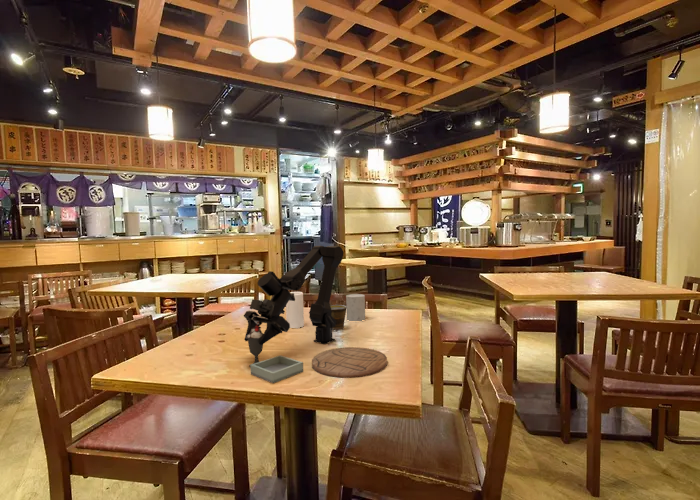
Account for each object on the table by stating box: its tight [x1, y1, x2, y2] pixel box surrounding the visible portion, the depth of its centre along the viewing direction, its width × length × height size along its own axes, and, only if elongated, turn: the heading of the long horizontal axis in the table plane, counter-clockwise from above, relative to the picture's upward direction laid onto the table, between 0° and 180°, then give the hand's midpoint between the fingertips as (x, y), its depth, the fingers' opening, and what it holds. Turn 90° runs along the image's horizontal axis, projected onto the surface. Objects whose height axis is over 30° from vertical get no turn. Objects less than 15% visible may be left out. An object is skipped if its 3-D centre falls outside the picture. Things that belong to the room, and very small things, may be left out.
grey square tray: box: [249, 354, 304, 384], centre depth 114 cm, size 12×12×3 cm
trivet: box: [311, 346, 388, 379], centre depth 121 cm, size 25×25×2 cm
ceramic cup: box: [330, 304, 347, 331], centre depth 165 cm, size 13×10×10 cm
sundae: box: [244, 322, 264, 368], centre depth 121 cm, size 7×7×15 cm
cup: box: [285, 291, 305, 329], centre depth 172 cm, size 8×8×16 cm
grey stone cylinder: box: [345, 293, 366, 322], centre depth 182 cm, size 10×10×12 cm
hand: (252, 342), depth 119 cm, fingers open, 7 cm apart
